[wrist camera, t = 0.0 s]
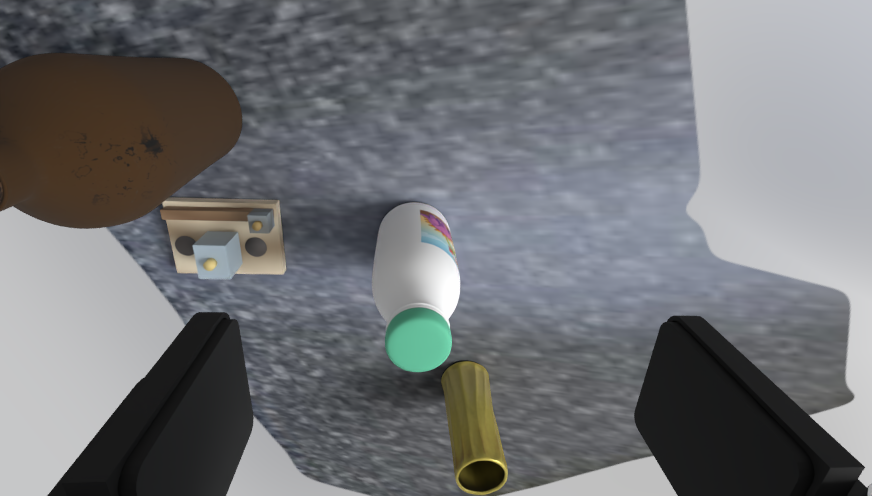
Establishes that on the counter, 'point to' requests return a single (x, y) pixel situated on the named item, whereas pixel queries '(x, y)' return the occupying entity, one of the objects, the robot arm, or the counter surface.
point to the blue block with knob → (218, 255)
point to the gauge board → (227, 230)
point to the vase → (473, 429)
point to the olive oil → (108, 134)
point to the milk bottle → (416, 285)
